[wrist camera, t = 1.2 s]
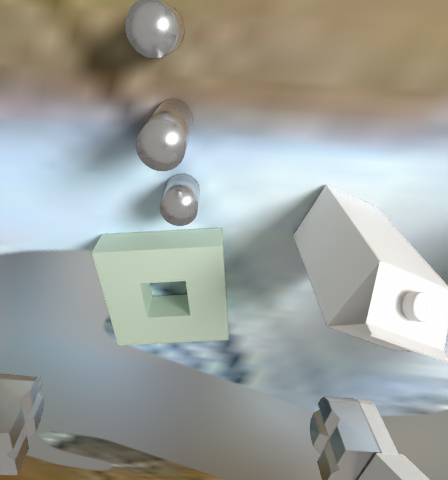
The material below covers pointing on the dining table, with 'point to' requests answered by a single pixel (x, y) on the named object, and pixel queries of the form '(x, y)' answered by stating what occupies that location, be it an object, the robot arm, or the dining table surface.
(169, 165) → the tall pin
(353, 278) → the milk carton
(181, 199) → the short pin
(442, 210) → the dining table surface
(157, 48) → the medium pin
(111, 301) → the socket block
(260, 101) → the dining table surface
